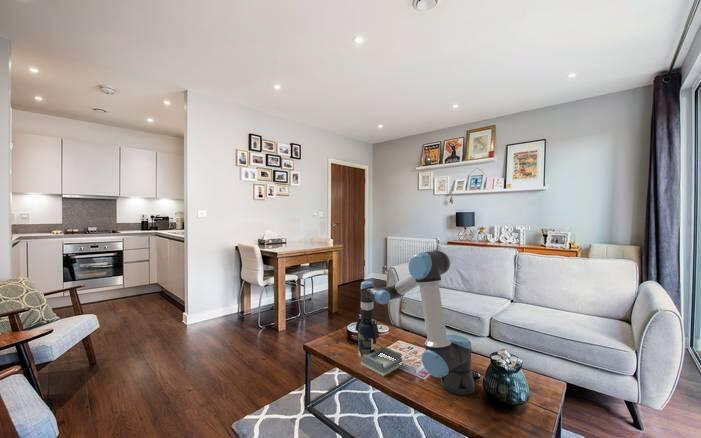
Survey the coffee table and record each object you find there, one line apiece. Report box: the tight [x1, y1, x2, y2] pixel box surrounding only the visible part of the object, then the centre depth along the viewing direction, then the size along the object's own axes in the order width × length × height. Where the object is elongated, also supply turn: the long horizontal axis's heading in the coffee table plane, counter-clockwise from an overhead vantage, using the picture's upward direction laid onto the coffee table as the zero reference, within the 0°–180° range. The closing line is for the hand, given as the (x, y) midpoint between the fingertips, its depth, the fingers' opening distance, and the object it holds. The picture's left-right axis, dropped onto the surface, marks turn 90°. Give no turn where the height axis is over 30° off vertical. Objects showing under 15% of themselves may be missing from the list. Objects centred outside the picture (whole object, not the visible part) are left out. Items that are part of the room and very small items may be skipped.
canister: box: [358, 322, 376, 355], centre depth 171 cm, size 10×10×18 cm
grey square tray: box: [360, 345, 403, 377], centre depth 157 cm, size 16×16×6 cm
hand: (366, 346), depth 171 cm, fingers closed on canister, 9 cm apart
